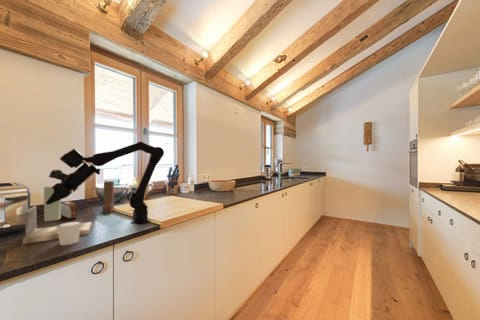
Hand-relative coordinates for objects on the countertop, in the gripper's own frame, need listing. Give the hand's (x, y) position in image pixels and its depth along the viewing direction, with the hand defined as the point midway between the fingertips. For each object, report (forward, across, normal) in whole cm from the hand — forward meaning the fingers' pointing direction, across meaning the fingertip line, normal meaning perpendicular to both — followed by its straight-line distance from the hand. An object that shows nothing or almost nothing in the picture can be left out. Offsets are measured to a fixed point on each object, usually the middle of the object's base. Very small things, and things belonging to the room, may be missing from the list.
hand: (48, 202), depth 87 cm
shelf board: (+7, +1, +12) cm, 14 cm away
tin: (+8, -29, +11) cm, 32 cm away
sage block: (+4, 0, +6) cm, 7 cm away
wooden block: (-4, -32, +24) cm, 40 cm away
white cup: (+3, +14, +16) cm, 21 cm away
